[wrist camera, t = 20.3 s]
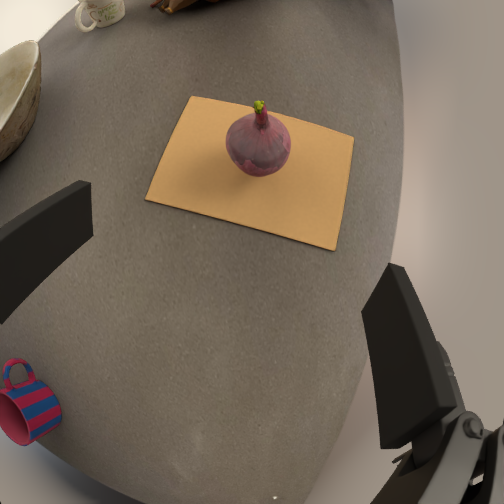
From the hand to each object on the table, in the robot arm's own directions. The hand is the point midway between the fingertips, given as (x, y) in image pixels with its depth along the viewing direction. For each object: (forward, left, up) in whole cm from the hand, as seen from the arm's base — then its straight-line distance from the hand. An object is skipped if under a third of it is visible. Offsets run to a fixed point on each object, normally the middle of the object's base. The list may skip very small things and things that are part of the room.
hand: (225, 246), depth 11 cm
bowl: (+41, -11, -16) cm, 45 cm away
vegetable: (+1, -12, -16) cm, 20 cm away
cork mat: (+1, -12, -16) cm, 20 cm away
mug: (+36, -36, -16) cm, 53 cm away
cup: (+19, +21, -16) cm, 33 cm away
